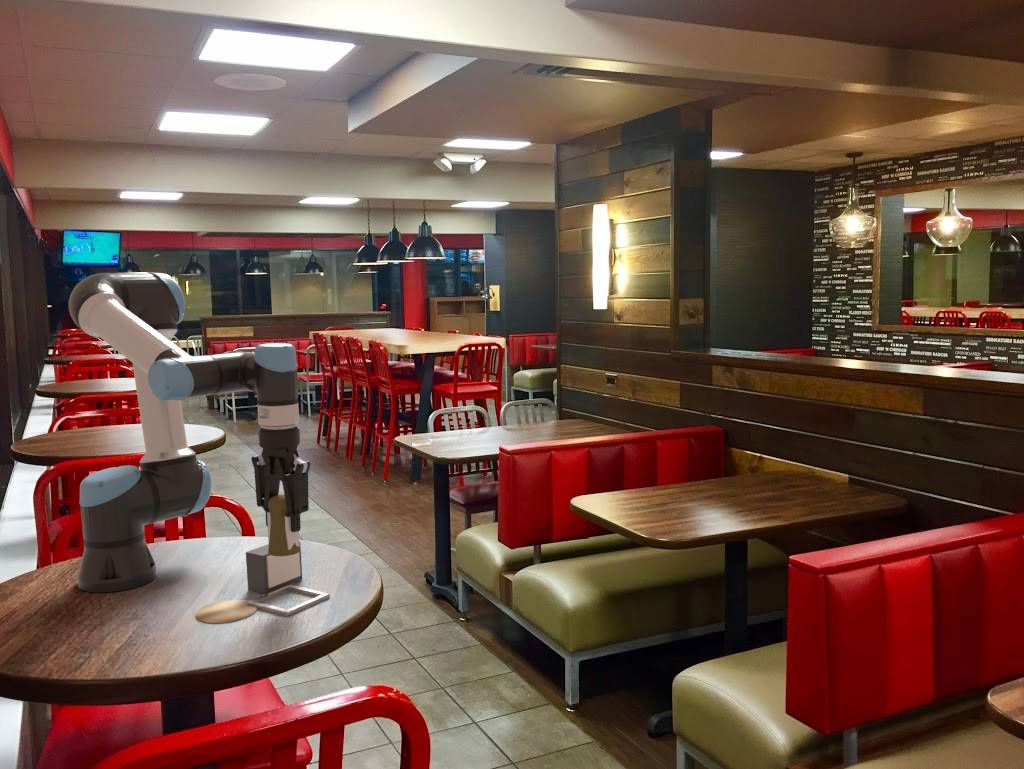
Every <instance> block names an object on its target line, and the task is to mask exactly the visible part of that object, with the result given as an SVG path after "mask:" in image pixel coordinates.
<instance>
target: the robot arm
mask: <svg viewBox="0 0 1024 769" xmlns="http://www.w3.org/2000/svg"><path fill="white" fill-rule="evenodd" d="M68 310H69V315H70V317H71V319H72V321H73V322H74V324H75V325H76V326H77V327H78V328H80V330H81V331H83V332H84V333H85V334H87V335H89V336H90V337H94V338H101V339H102V340H103V341H104V342H106V344H108V345H109V346H111V347H112V348H114V350H116V351H117V352H118V353H120V354H121V355H122V356H124V357H125V358H126V359H127V360H129V361H130V363H132V369H133V375H134V381H135V390H136V395H137V396H136V397H137V402H138V403H137V404H138V409H139V415H140V416H139V417H140V422H141V423H140V424H141V429H142V437H143V443H144V449H145V453H144V455H143V456H142V457H141V459H140V460H139V467H140V468H139V467H138V466H136V465H120V466H117V467H116V466H113V467H108V468H103V469H101V470H98V471H95V472H93V473H91V474H89V475H88V476H85V477H84V478H83V479H82V480H81V482H80V485H79V499H78V500H79V505H80V516H81V525H82V526H81V527H82V536H83V538H82V539H83V554H82V557H81V561H80V566H79V569H78V573H77V577H76V578H77V588H78V589H79V590H81V591H83V592H88V593H112V592H120V591H126V590H130V589H133V588H137V587H139V586H140V587H141V586H143V585H145V584H147V583H150V582H152V581H153V580H154V579H155V578H156V577H157V566H156V565H157V564H156V562H155V560H154V558H153V554H152V553H151V551H150V549H149V546H148V545H147V542H146V536H145V535H146V534H145V526H147V525H152V524H155V523H159V522H164V521H168V520H172V519H176V518H184V517H187V516H189V515H191V514H194V513H197V512H200V511H202V509H203V508H205V506H206V505H207V502H208V501H209V499H210V496H211V493H212V476H211V472H210V469H208V466H207V464H206V463H205V462H204V461H202V460H200V459H198V458H197V454H196V451H194V450H193V449H192V448H190V447H189V446H188V442H187V436H186V435H187V434H186V428H185V422H184V416H183V414H184V413H183V408H182V400H185V399H191V398H192V399H193V398H199V397H206V396H212V395H222V394H230V393H236V392H237V393H239V392H253V393H256V403H257V420H258V423H257V424H258V425H259V426H260V427H259V428H258V446H259V447H260V448H262V451H261V454H259V455H257V454H256V455H254V456H252V457H251V459H250V460H251V462H252V466H253V469H254V484H255V485H254V486H255V498H256V505H257V507H260V508H263V511H264V512H265V525H266V527H267V533H268V534H267V535H268V536H267V537H268V538H267V539H268V543H269V538H270V527H271V516H272V513H271V512H270V511H269V508H268V503H269V500H270V498H271V497H273V496H276V495H280V494H279V493H280V485H281V484H282V487H283V488H282V489H283V493H284V495H285V500H286V505H287V511H288V513H287V514H285V531H286V538H287V545H288V550H290V549H291V548H292V546H293V545H294V543H295V544H296V546H297V547H298V546H301V544H300V545H299V542H300V531H301V528H302V527H301V526H302V525H301V515H302V514H303V513H306V512H308V511H309V510H310V509H309V508H310V506H309V503H310V502H309V472H310V467H311V462H310V461H309V460H306V461H304V460H302V459H301V458H300V455H299V452H298V447H299V445H300V443H301V438H300V437H301V436H300V431H301V430H300V427H299V425H298V424H299V423H300V411H299V410H300V409H299V385H298V384H299V382H298V380H299V379H298V367H299V364H298V362H297V351H296V347H295V346H294V345H293V344H291V343H285V342H284V343H280V342H279V343H277V342H276V343H273V342H272V343H262V344H257V345H256V346H255V349H254V352H250V351H244V350H229V351H225V352H223V353H219V354H218V353H217V354H207V355H196V356H195V355H191V354H189V353H188V352H186V351H185V350H184V349H183V348H181V347H180V346H178V345H177V344H175V343H174V342H172V341H173V340H172V339H173V338H174V336H175V335H176V334H177V332H178V327H177V326H178V324H181V322H182V321H183V320H184V318H185V311H186V300H185V297H184V293H183V291H182V288H181V287H180V285H179V283H178V282H177V281H176V280H174V278H173V277H172V276H170V275H169V274H167V273H163V272H152V271H141V272H137V271H136V272H99V273H96V274H91V275H89V276H87V277H85V278H83V279H81V280H80V281H79V282H78V283H77V284H76V285H75V286H74V288H73V290H72V291H71V293H70V295H69V299H68ZM280 483H281V484H280ZM294 507H295V508H294Z"/></svg>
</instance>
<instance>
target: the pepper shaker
mask: <svg viewBox="0 0 1024 769" xmlns="http://www.w3.org/2000/svg"><path fill="white" fill-rule="evenodd" d="M268 508H269V511H270V512H271V513H272V516H271V527H270V538H269V542H268V544H269V549H268V554H270V555H272V556H289V555H294V554H296V553H298V552H300V546H301V545H300V546H298V547H297V546H296V544H295V543H294V545H293V546H292V548H291V549H290V550H288V545H287V538H286V531H285V514H287V513H288V511H287V505H286V500H285V495H284V494H282V493H281V494H278V495H276V496H273V497H271V498H270V500H269V503H268ZM294 508H295V507H294Z"/></svg>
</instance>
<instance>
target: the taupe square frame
mask: <svg viewBox="0 0 1024 769" xmlns="http://www.w3.org/2000/svg"><path fill="white" fill-rule="evenodd" d="M288 592H292V593H297V594H301V595H306V596H311V597H313V598H311V599H309V600H307V601H304V602H302V603H300V604H297V605H295V606H293V607H291V608H287V609H286V608H283V607H278V606H275V605H271V604H267V603H264V602H266V601H269V600H271V599H273V598H275V597H278V596H280V595H282V594H285V593H288ZM330 596H331V595H330V593H327V592H324V591H319V590H315V589H310V588H306V587H303V586H297V585H293V584H291V585H287V586H285V587H282V588H280V589H277V590H275V591H273V592H270V593H268V594H265V595H264V594H262V595H261V596H258V597H256V598H253V599H251V600H247V601H248V602H247V605H251V606H255V607H257V610H262V611H265V612H268V613H272V614H275V615H281V616H284V617H290V616H293V615H295V614H297V613H299V612H300V611H303V610H306V609H307V608H310V607H313V606H314V605H316V604H319V603H321V602H324V601H325V600H328V599H330V598H331V597H330Z"/></svg>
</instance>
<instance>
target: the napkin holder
mask: <svg viewBox="0 0 1024 769" xmlns="http://www.w3.org/2000/svg"><path fill="white" fill-rule="evenodd" d="M299 545H300V552H298V553H296V554H294V555H289V556H272V555H270V554H268V549H269V543H268V544H265V545H263V546H259V547H256V548H254V549H251V550H248V551H246V552H245V560H246V563H245V564H246V577H247V580H246V581H247V591H248V592H251V593H252V592H253V593H256V594H259V595H260V594H261V595H265V594H268V593H270V592H273V591H275V590H277V589H280V588H282V587H285V586H287V585H293V584H295V583H298V582H300V581H303V570H302V569H303V567H302V549H301V548H302V546H301V542H300V541H299Z"/></svg>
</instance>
